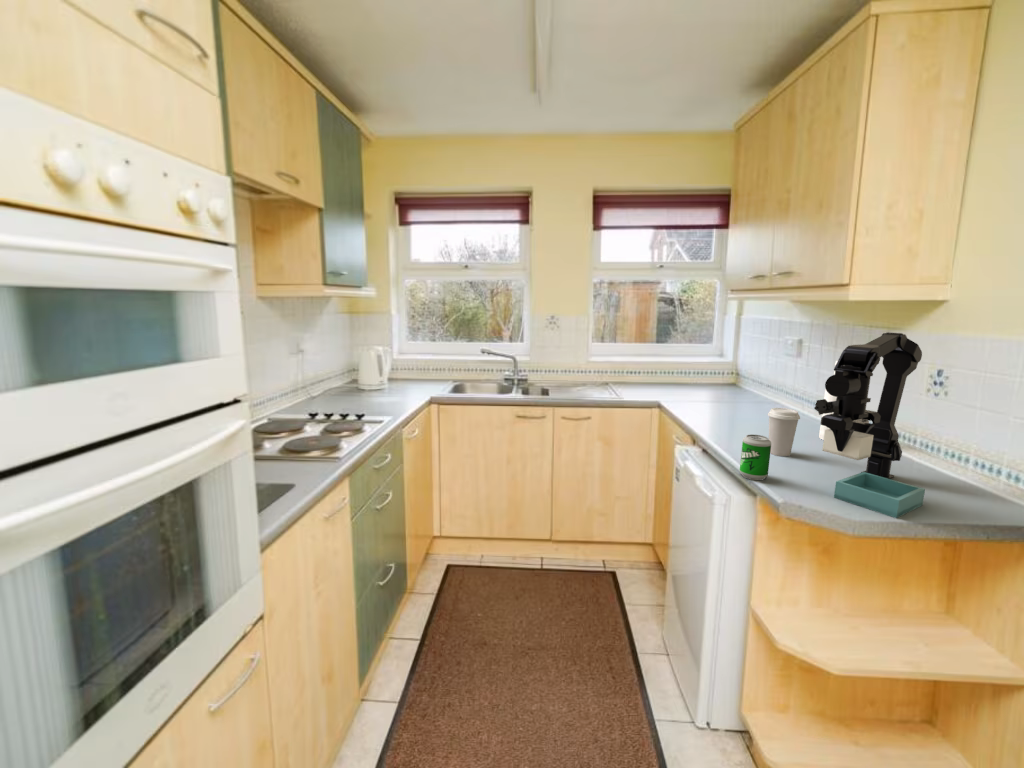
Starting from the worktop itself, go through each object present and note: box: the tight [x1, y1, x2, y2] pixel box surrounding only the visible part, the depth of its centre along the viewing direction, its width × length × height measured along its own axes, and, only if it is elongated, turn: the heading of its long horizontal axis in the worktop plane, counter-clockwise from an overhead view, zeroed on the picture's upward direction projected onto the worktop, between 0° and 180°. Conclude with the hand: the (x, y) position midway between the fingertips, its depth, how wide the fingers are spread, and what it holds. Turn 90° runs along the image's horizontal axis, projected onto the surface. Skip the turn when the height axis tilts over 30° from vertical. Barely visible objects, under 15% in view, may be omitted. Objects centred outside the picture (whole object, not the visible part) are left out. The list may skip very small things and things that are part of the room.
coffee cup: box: [767, 407, 801, 457], centre depth 165 cm, size 10×10×15 cm
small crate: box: [821, 429, 874, 461], centre depth 133 cm, size 6×9×6 cm
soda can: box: [739, 434, 771, 481], centre depth 143 cm, size 8×8×12 cm
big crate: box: [833, 471, 926, 519], centre depth 127 cm, size 15×14×4 cm
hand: (846, 449), depth 133 cm, fingers closed on small crate, 6 cm apart
